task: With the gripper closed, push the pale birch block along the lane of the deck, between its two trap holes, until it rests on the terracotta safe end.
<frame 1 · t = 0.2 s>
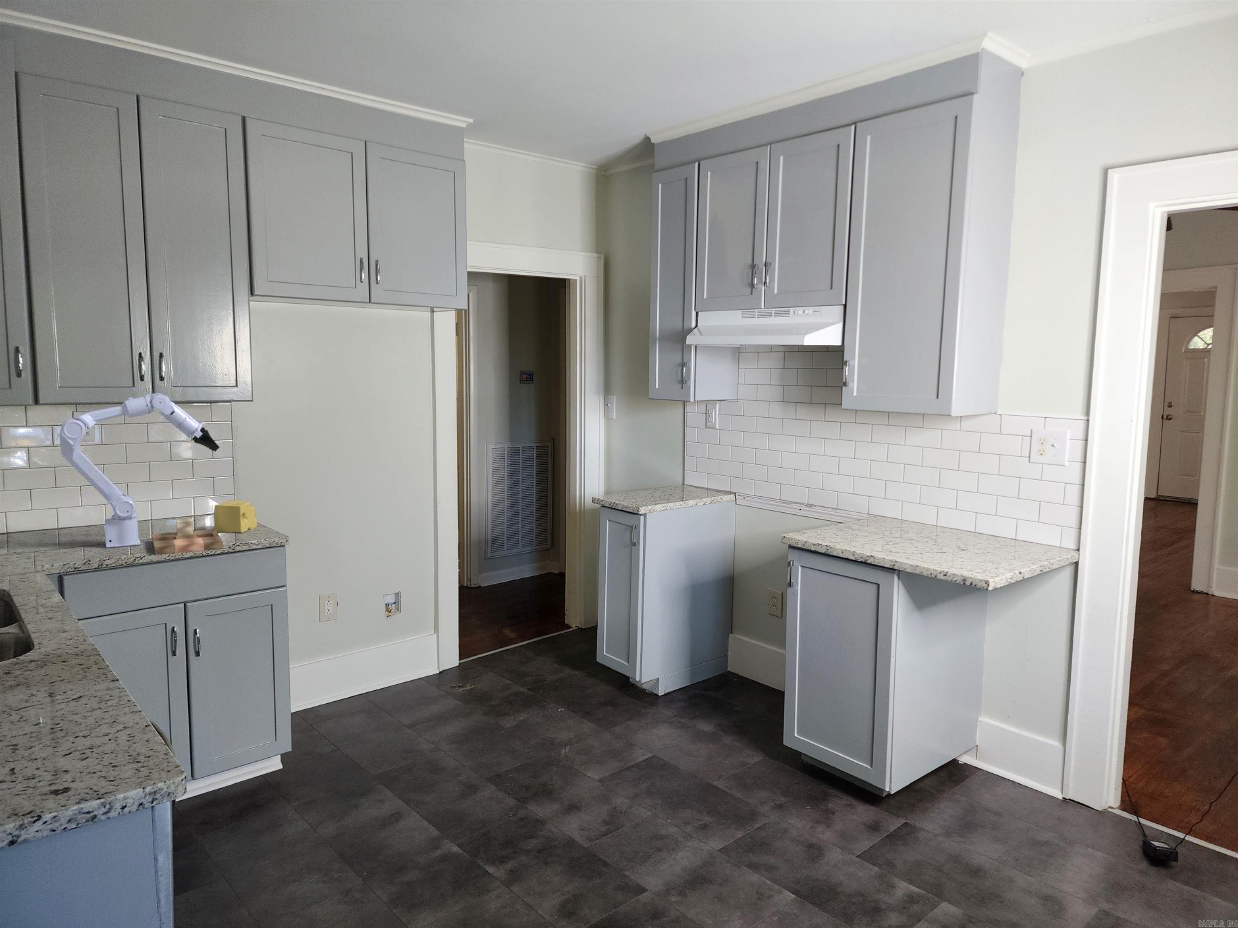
hand: (216, 448, 279), 31 cm above the countertop, tool tilted 45°, fingers open, 7 cm apart
block: (184, 533, 273), point 2 cm above the countertop, touching trap deck
cheese: (235, 530, 293), on the countertop
trap deck: (187, 544, 268), on the countertop
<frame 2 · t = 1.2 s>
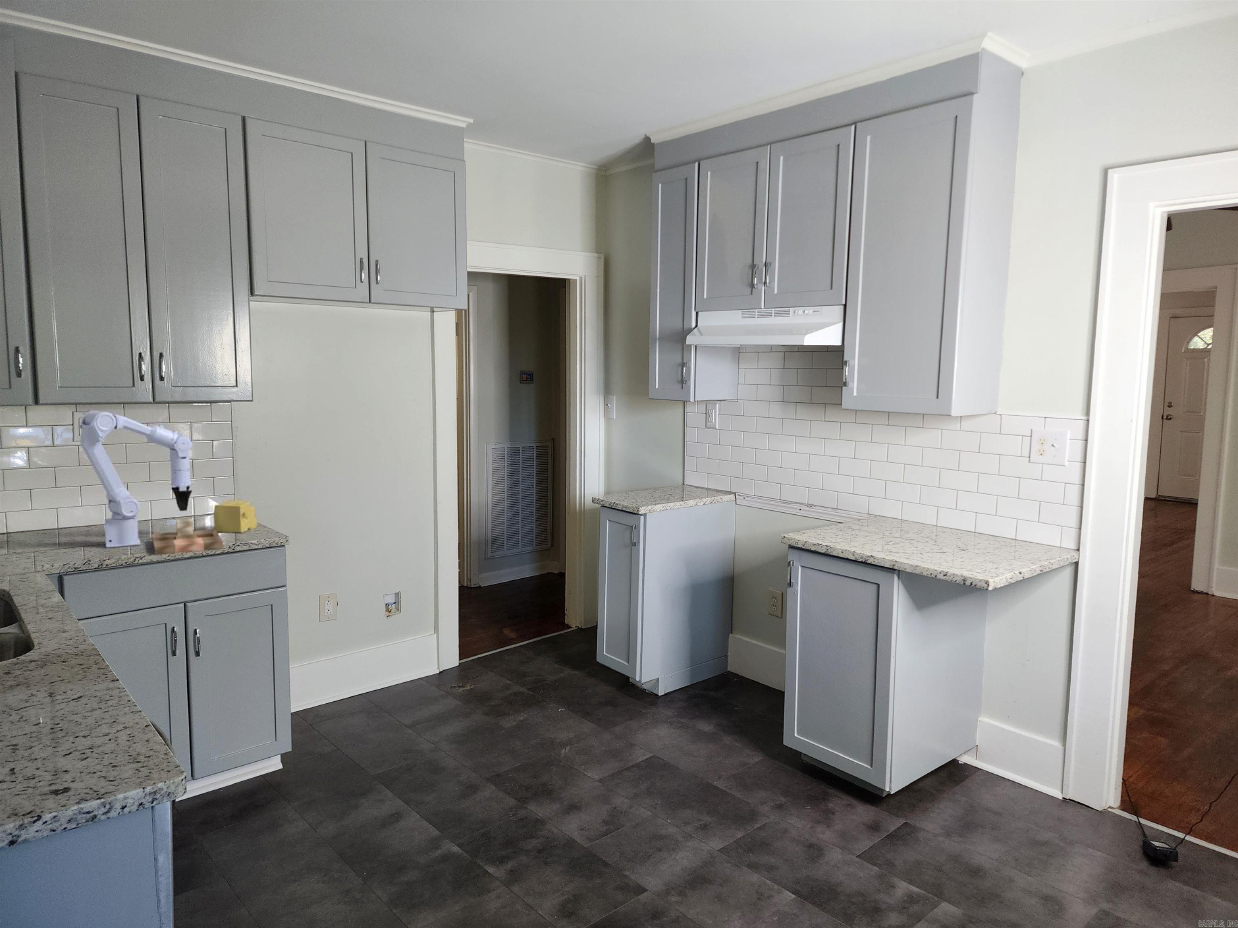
hand: (182, 508, 280), 10 cm above the countertop, tool pointing down, fingers open, 7 cm apart
nothing on the countertop moved.
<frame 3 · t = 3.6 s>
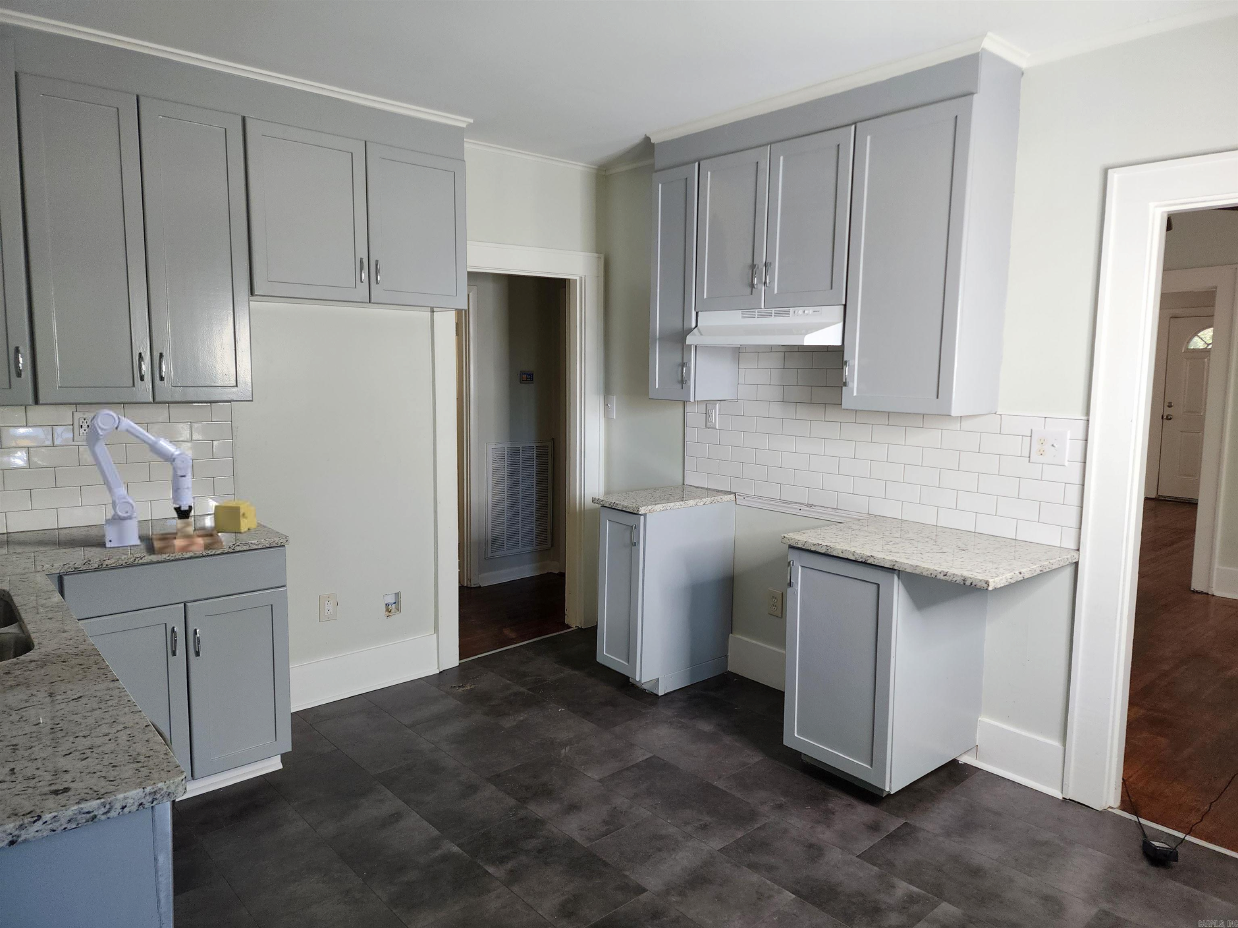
hand: (183, 527, 276), 4 cm above the countertop, tool pointing down, fingers closed
block: (184, 533, 273), point 3 cm above the countertop, touching gripper, trap deck
everything else where it was.
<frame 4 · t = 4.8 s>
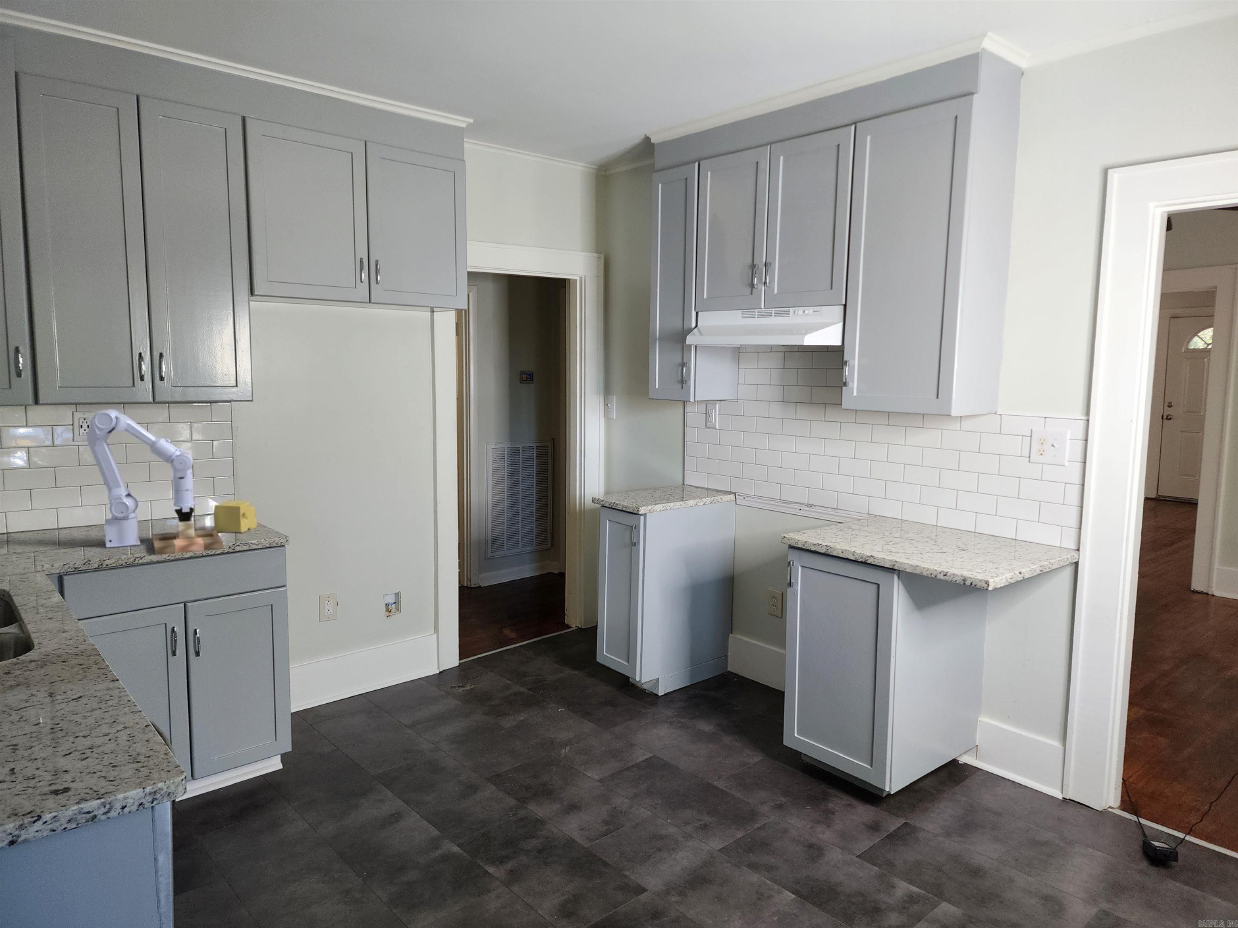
hand: (185, 530, 272), 4 cm above the countertop, tool pointing down, fingers closed
block: (186, 536, 269), point 3 cm above the countertop, touching gripper, trap deck
everything else where it was.
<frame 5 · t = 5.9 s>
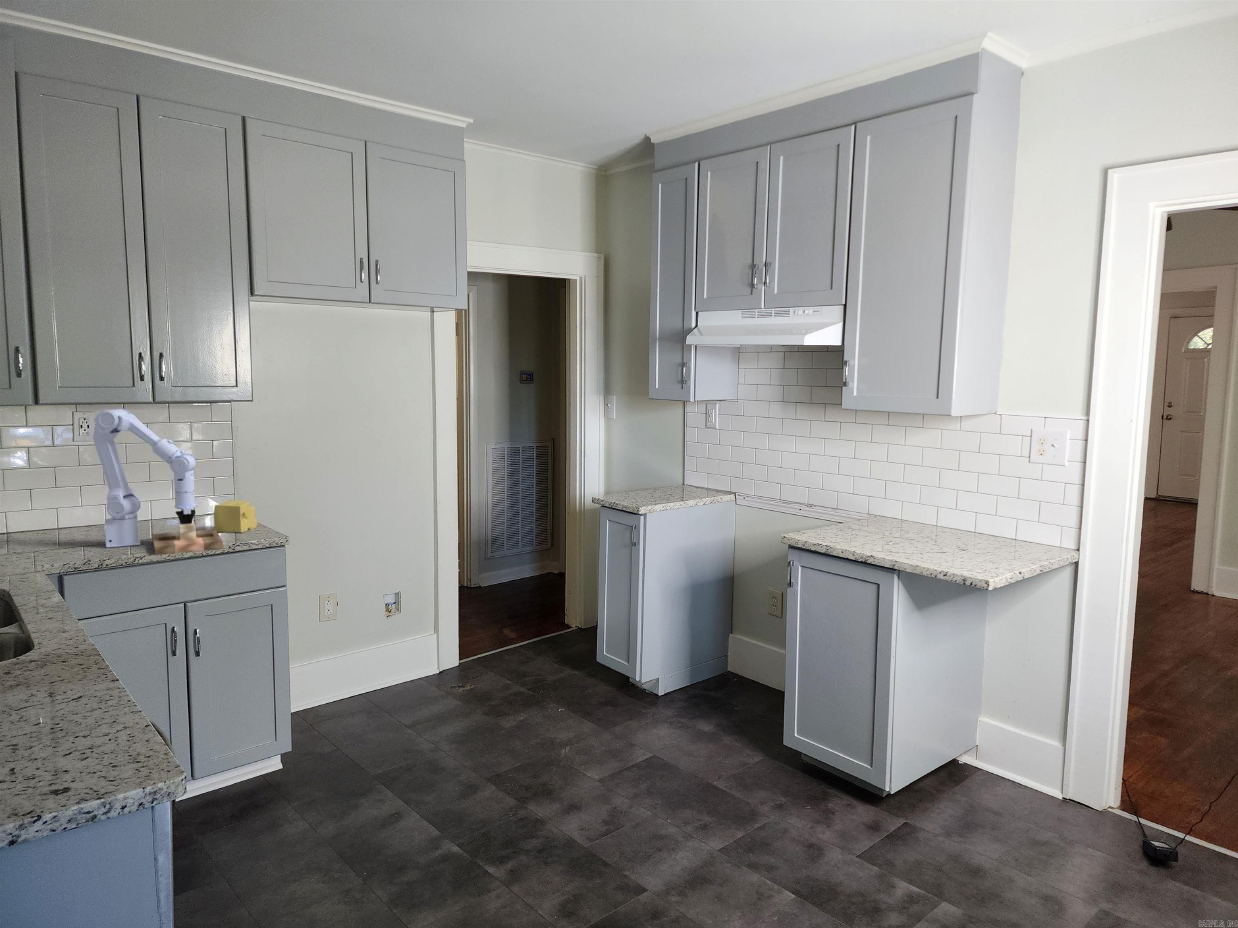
hand: (186, 532, 268), 4 cm above the countertop, tool pointing down, fingers closed
block: (187, 538, 265), point 3 cm above the countertop, touching gripper, trap deck
everything else where it was.
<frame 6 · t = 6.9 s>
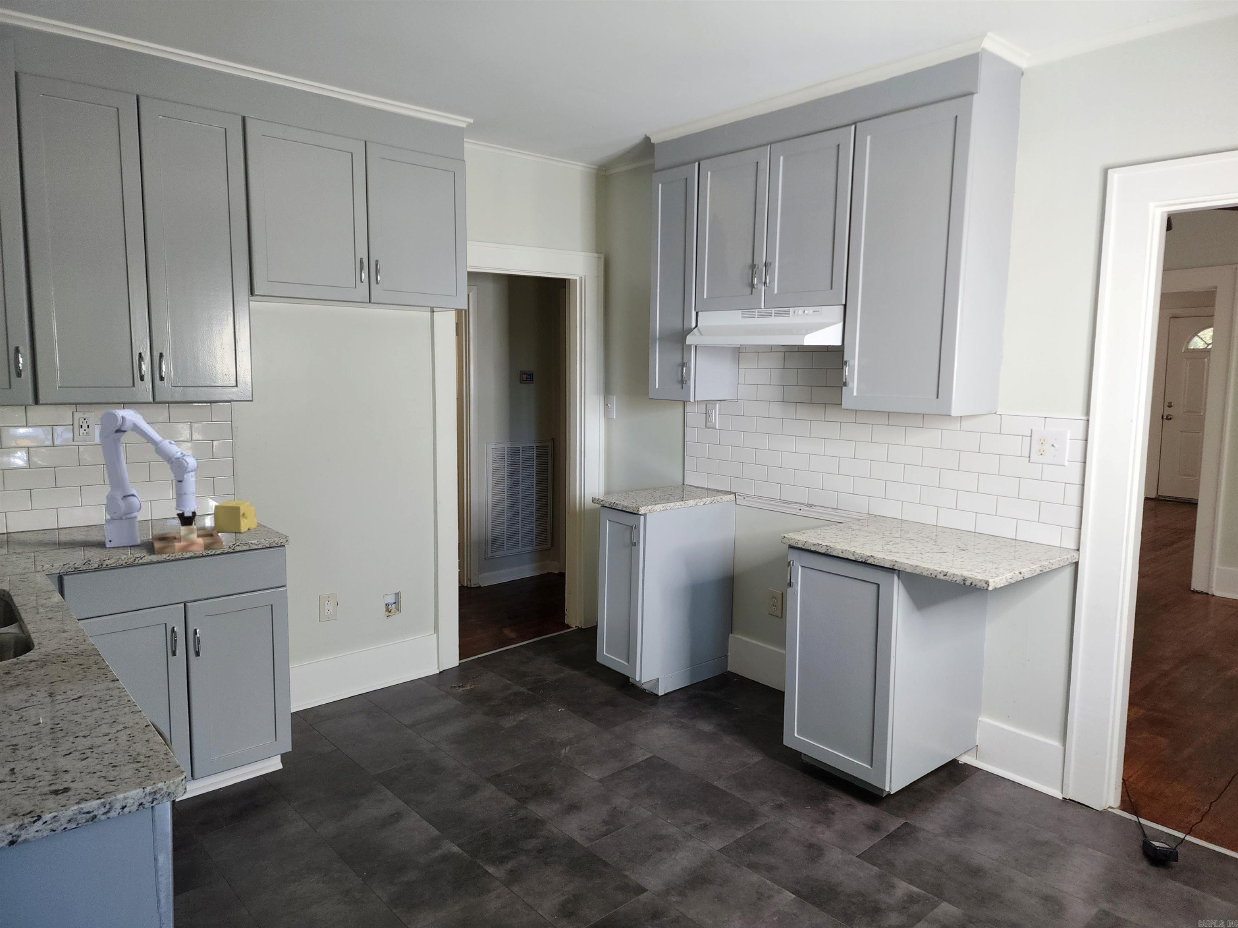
hand: (187, 534, 265), 4 cm above the countertop, tool pointing down, fingers closed
block: (188, 540, 262), point 2 cm above the countertop, touching gripper, trap deck
everything else where it was.
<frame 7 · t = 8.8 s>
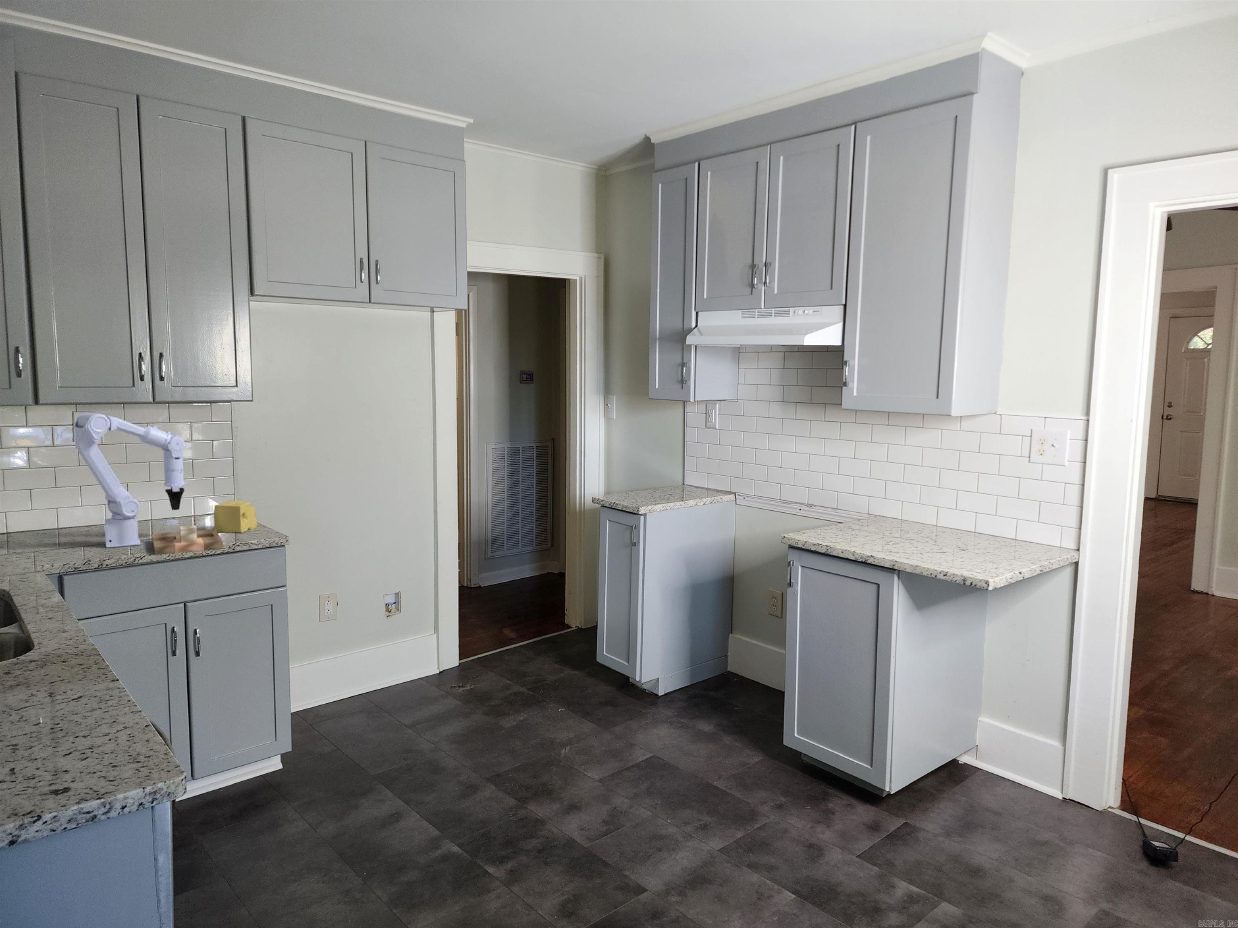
hand: (175, 509, 279), 9 cm above the countertop, tool pointing down, fingers closed
block: (188, 540, 262), point 2 cm above the countertop, touching trap deck
everything else where it was.
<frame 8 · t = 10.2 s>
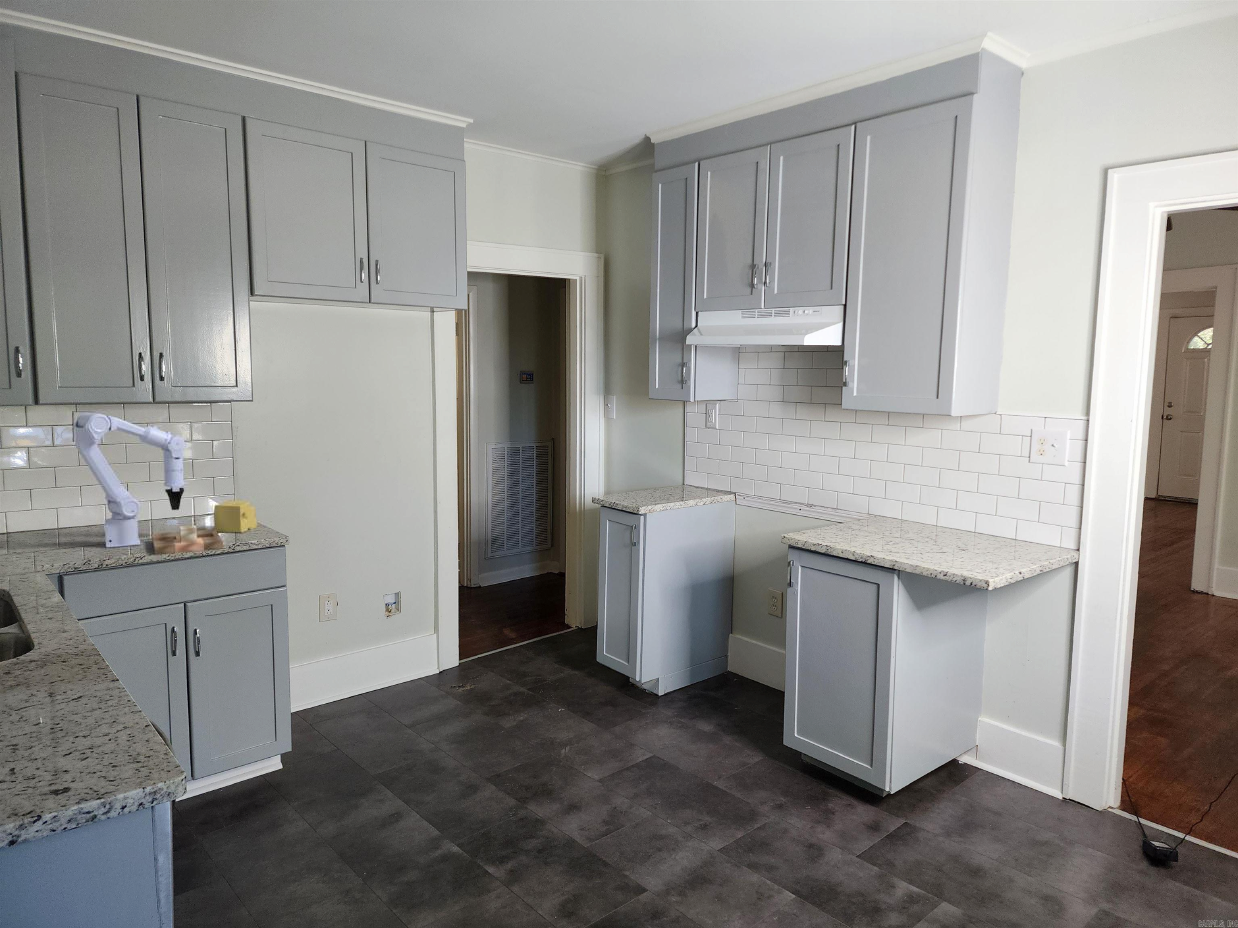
hand: (175, 509, 279), 9 cm above the countertop, tool pointing down, fingers closed
nothing on the countertop moved.
at the end: block inside the target area (0.3 cm from its centre), point 2.5 cm above the countertop; block tilted 0° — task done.
